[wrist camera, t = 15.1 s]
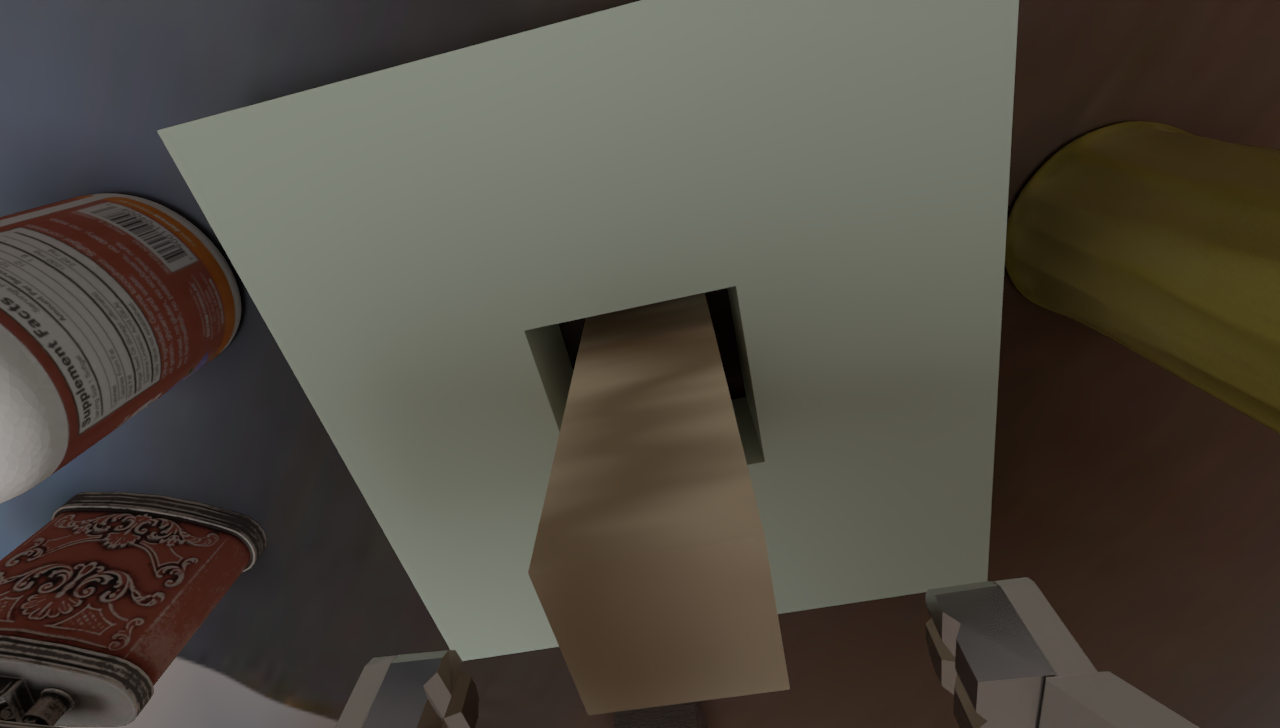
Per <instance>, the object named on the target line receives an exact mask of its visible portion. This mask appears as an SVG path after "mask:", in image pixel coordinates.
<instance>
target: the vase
mask: <svg viewBox="0 0 1280 728" xmlns="http://www.w3.org/2000/svg"><path fill="white" fill-rule="evenodd" d="M1005 265H1006V269H1007V272H1008V274H1009V277H1010V279H1011V281H1012V283H1013V284H1014V286H1015V287H1016V289H1017V290H1018V291H1019V292H1020V293H1021V294H1022V295H1023V296H1024V297H1025V298H1027V299H1028V300H1029V301H1031V302H1033V303H1034V304H1036V305H1039V306H1041V307H1043V308H1046V309H1048V310H1051V311H1053V312H1055V313H1058V314H1062V315H1065V316H1067V317H1070V318H1072V319H1074V320H1076V321H1078V322H1080V323H1081V324H1083V325H1085V326H1087V327H1089V328H1091V329H1093V330H1095V331H1097V332H1099V333H1101V334H1103V335H1105V336H1107V337H1109V338H1111V339H1113V340H1115V341H1116V342H1118V343H1120V344H1121V345H1123V346H1125V347H1126V348H1128V349H1130V350H1131V351H1133V352H1135V353H1137V354H1138V355H1140V356H1142V357H1144V358H1146V359H1147V360H1149V361H1151V362H1153V363H1154V364H1156V365H1158V366H1160V367H1162V368H1163V369H1165V370H1167V371H1169V372H1170V373H1172V374H1174V375H1176V376H1178V377H1179V378H1181V379H1183V380H1185V381H1187V382H1188V383H1190V384H1192V385H1194V386H1196V387H1197V388H1199V389H1201V390H1203V391H1205V392H1206V393H1208V394H1210V395H1212V396H1214V397H1215V398H1217V399H1219V400H1221V401H1223V402H1224V403H1226V404H1228V405H1229V406H1231V407H1233V408H1235V409H1236V410H1238V411H1240V412H1242V413H1243V414H1245V415H1247V416H1249V417H1251V418H1252V419H1254V420H1256V421H1258V422H1260V423H1261V424H1263V425H1265V426H1267V427H1268V428H1270V429H1272V430H1274V431H1275V432H1277V433H1279V434H1280V150H1277V149H1270V148H1264V147H1257V146H1250V145H1242V144H1235V143H1228V142H1224V141H1220V140H1216V139H1211V138H1206V137H1201V136H1195V135H1193V134H1191V133H1189V132H1186V131H1184V130H1181V129H1178V128H1175V127H1173V126H1170V125H1166V124H1162V123H1157V122H1148V121H1127V122H1122V123H1117V124H1113V125H1110V126H1106V127H1103V128H1100V129H1097V130H1095V131H1092V132H1090V133H1088V134H1086V135H1084V136H1082V137H1080V138H1078V139H1076V140H1074V141H1072V142H1071V143H1069V144H1067V145H1066V146H1064V147H1063V148H1062V149H1060V150H1059V151H1058V152H1056V153H1055V154H1054V155H1053V156H1052V157H1051V158H1050V159H1049V160H1047V161H1046V162H1045V163H1044V164H1043V165H1042V166H1041V167H1040V168H1039V170H1038V171H1037V172H1036V173H1035V174H1034V175H1033V176H1032V178H1031V179H1030V180H1029V181H1028V183H1027V184H1026V185H1025V187H1024V188H1023V189H1022V191H1021V192H1020V194H1019V196H1018V198H1017V200H1016V201H1015V204H1014V206H1013V208H1012V210H1011V213H1010V215H1009V218H1008V221H1007V230H1006V248H1005Z"/></svg>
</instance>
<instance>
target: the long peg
mask: <svg viewBox="0 0 1280 728" xmlns="http://www.w3.org/2000/svg"><path fill="white" fill-rule="evenodd" d="M528 574H529V577H530V579H531V581H532V584H533V586H534V588H535V591H536V593H537V595H538V598H539V600H540V603H541V605H542V607H543V610H544V612H545V614H546V617H547V619H548V621H549V624H550V626H551V628H552V631H553V633H554V636H555V638H556V640H557V643H558V645H559V647H560V650H561V652H562V654H563V657H564V659H565V661H566V664H567V666H568V668H569V671H570V673H571V676H572V678H573V680H574V683H575V685H576V687H577V690H578V692H579V694H580V697H581V699H582V701H583V704H584V706H585V709H586V711H587V713H588V715H595V714H603V713H611V712H618V711H626V710H634V709H642V708H650V707H657V706H665V705H673V704H681V703H688V702H696V701H704V700H712V699H720V698H727V697H735V696H743V695H751V694H758V693H766V692H774V691H782V690H789V689H790V686H789V680H788V674H787V668H786V662H785V656H784V650H783V644H782V637H781V631H780V625H779V619H778V613H777V607H776V601H775V595H774V589H773V583H772V577H771V571H770V565H769V559H768V553H767V547H766V541H765V535H764V531H763V527H762V523H761V519H760V515H759V511H758V507H757V503H756V498H755V494H754V490H753V486H752V482H751V478H750V474H749V470H748V466H747V462H746V458H745V454H744V450H743V446H742V442H741V438H740V434H739V430H738V426H737V421H736V417H735V413H734V409H733V405H732V401H731V397H730V393H729V389H728V385H727V381H726V377H725V373H724V369H723V365H722V361H721V357H720V353H719V349H718V344H717V340H716V336H715V332H714V328H713V324H712V320H711V316H710V312H709V308H708V304H707V300H706V296H705V293H700V294H695V295H691V296H686V297H681V298H676V299H672V300H667V301H662V302H658V303H653V304H648V305H643V306H639V307H634V308H629V309H624V310H620V311H615V312H610V313H605V314H601V315H596V316H591V317H587V318H586V319H585V323H584V328H583V332H582V336H581V341H580V345H579V350H578V354H577V358H576V363H575V367H574V372H573V376H572V381H571V385H570V389H569V394H568V398H567V403H566V407H565V412H564V416H563V420H562V425H561V429H560V434H559V438H558V442H557V447H556V451H555V456H554V460H553V465H552V469H551V473H550V478H549V482H548V487H547V491H546V496H545V500H544V504H543V509H542V513H541V518H540V522H539V526H538V531H537V535H536V540H535V544H534V549H533V553H532V557H531V562H530V566H529V571H528Z"/></svg>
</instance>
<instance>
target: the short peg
mask: <svg viewBox="0 0 1280 728" xmlns="http://www.w3.org/2000/svg"><path fill="white" fill-rule="evenodd" d="M615 728H707V727H706V723H705V720H704V717H703V713H702V710H701V706H700V703H699V701H696V702H688V703H681V704H673V705H665V706H657V707H650V708H642V709H634V710H626V711H618V712H615Z"/></svg>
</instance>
